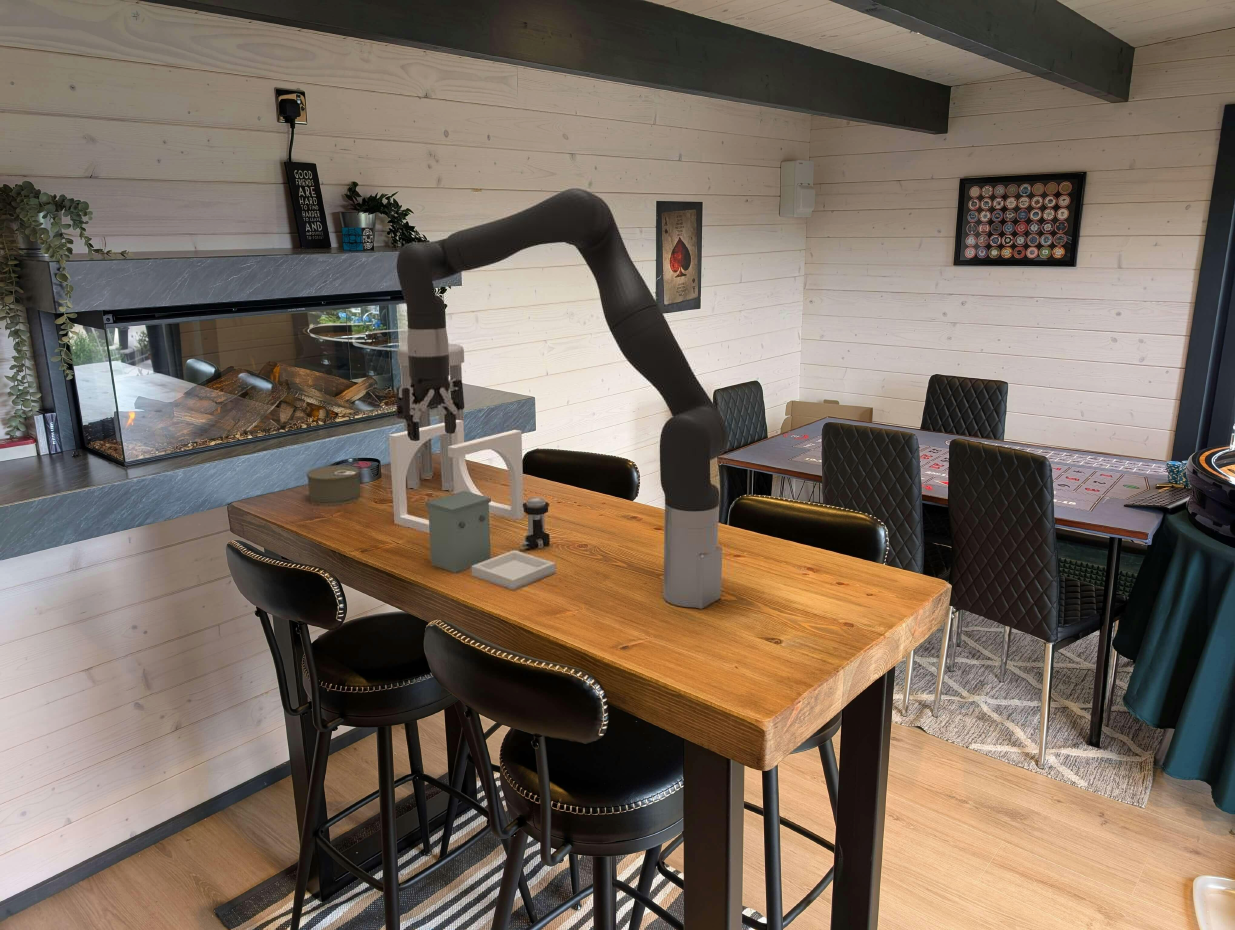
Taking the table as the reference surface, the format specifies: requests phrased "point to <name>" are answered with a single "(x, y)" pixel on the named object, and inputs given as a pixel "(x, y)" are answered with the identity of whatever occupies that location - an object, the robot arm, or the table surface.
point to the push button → (536, 523)
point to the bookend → (457, 469)
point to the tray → (513, 570)
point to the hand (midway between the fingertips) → (432, 436)
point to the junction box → (459, 530)
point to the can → (334, 485)
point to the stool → (424, 420)
